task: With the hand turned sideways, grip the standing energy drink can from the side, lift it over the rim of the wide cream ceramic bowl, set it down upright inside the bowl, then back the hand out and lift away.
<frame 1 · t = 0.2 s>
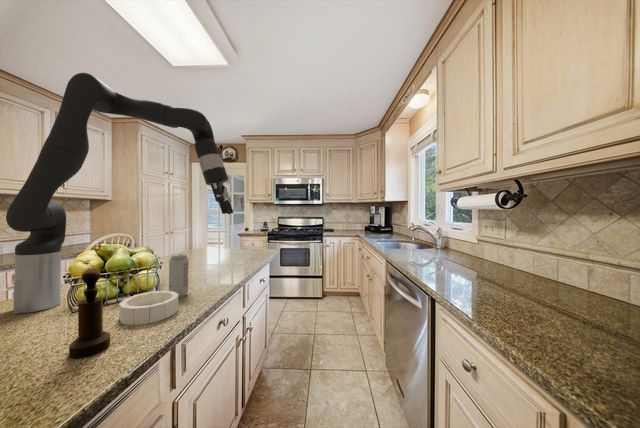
hand: (228, 213, 83), 31 cm above the table, tool tilted 20°, fingers open, 8 cm apart
dark brown wooden stand: (90, 350, 52), on the table
energy drink can: (178, 296, 85), on the table
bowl: (150, 313, 70), on the table
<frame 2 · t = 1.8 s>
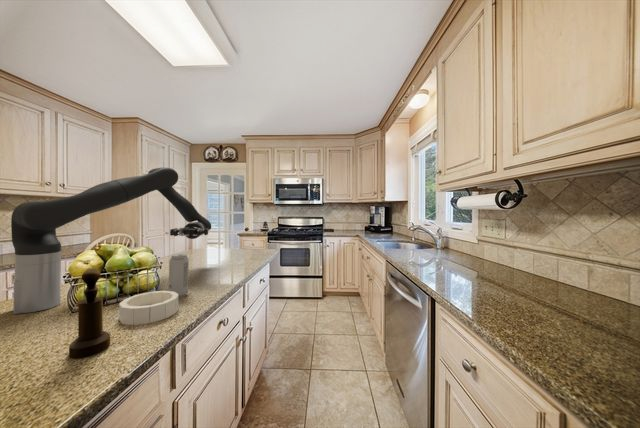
hand: (186, 233, 95), 22 cm above the table, tool horizontal, fingers open, 8 cm apart
nothing on the table moved.
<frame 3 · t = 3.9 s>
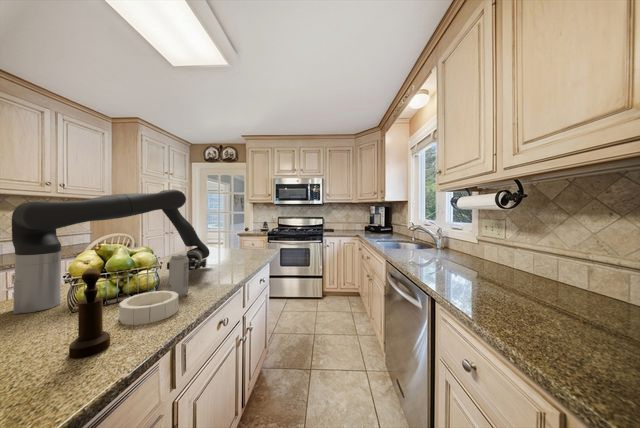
hand: (183, 267, 92), 8 cm above the table, tool horizontal, fingers open, 8 cm apart
nothing on the table moved.
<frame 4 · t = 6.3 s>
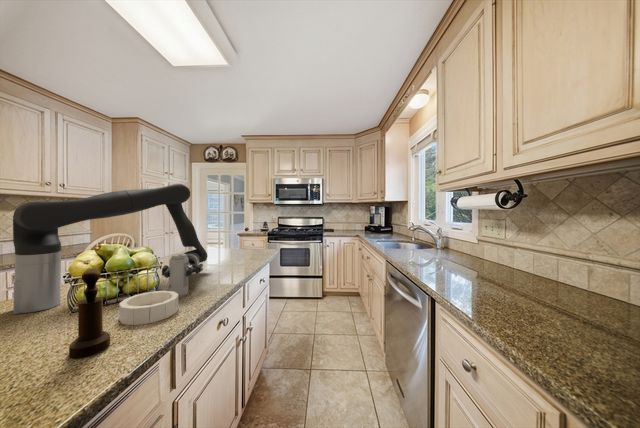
hand: (177, 274, 83), 9 cm above the table, tool horizontal, fingers closed on energy drink can, 6 cm apart
energy drink can: (178, 296, 85), on the table, touching gripper
everything else where it was.
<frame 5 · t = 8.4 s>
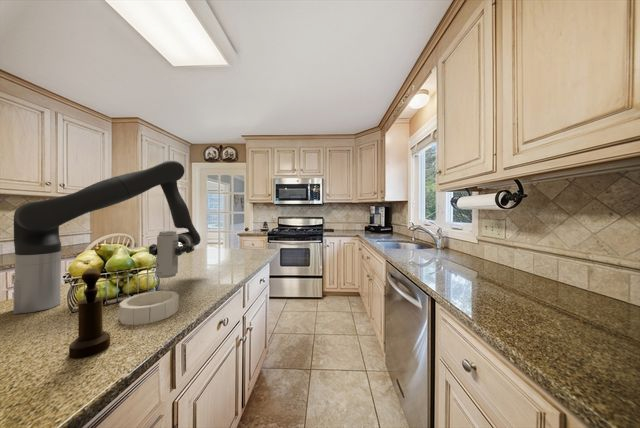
hand: (165, 252, 76), 18 cm above the table, tool horizontal, fingers closed on energy drink can, 6 cm apart
energy drink can: (167, 276, 79), point 9 cm above the table, touching gripper
everything else where it was.
when the fingers open (11 cm above the table, at t = 10.9 s): energy drink can drops 1 cm, resting on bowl.
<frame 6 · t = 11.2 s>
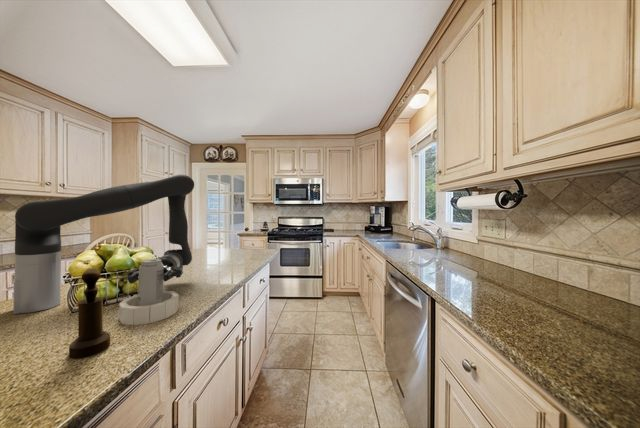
hand: (148, 279, 68), 11 cm above the table, tool horizontal, fingers open, 8 cm apart
energy drink can: (150, 310, 71), point 1 cm above the table, touching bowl
everything else where it was.
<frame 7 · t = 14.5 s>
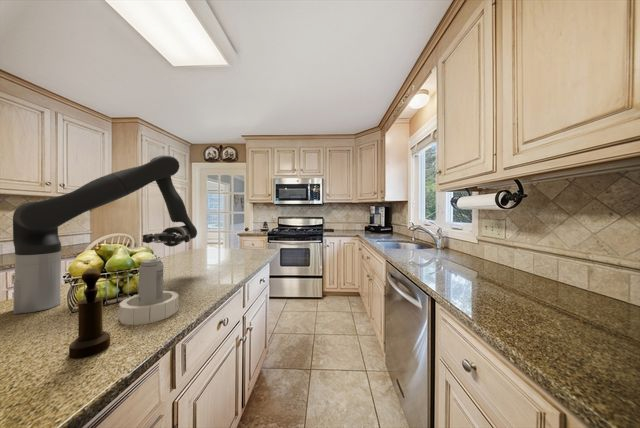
hand: (161, 240, 80), 21 cm above the table, tool horizontal, fingers open, 8 cm apart
nothing on the table moved.
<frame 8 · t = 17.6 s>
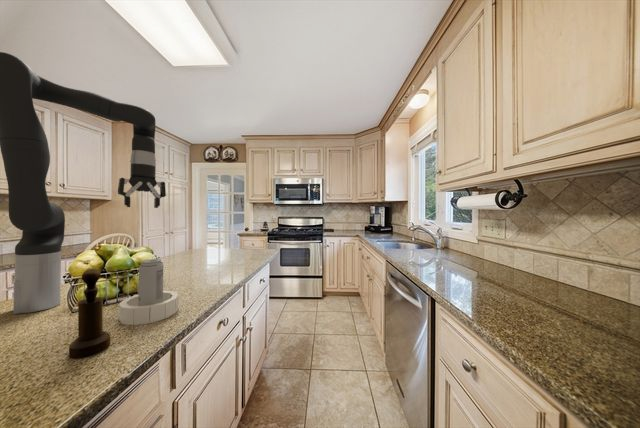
hand: (142, 207, 88), 32 cm above the table, tool pointing down, fingers open, 8 cm apart
nothing on the table moved.
at the end: energy drink can 0.1 cm off-centre on the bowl, point 0.8 cm above the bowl's base; energy drink can tilted 0°; the gripper is holding nothing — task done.
